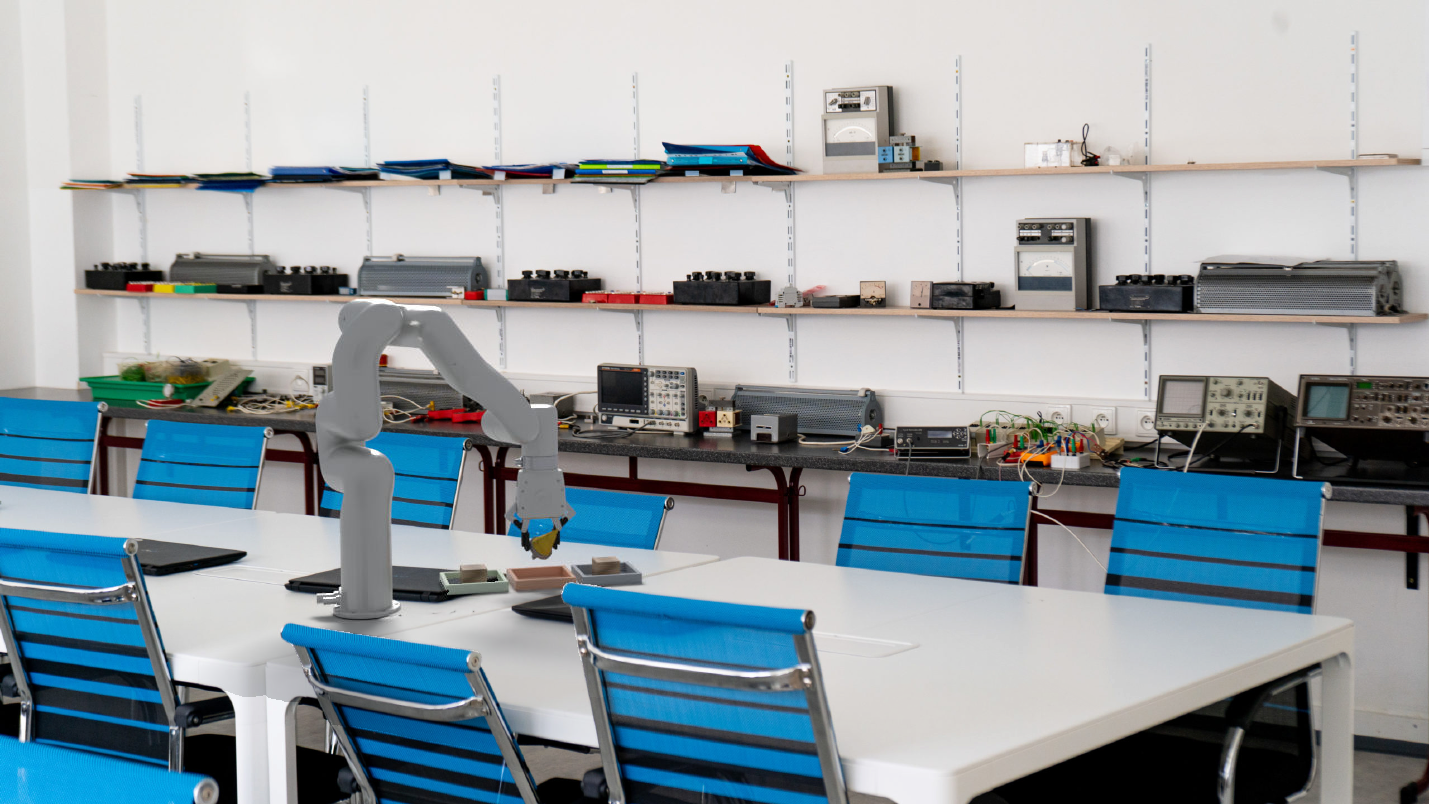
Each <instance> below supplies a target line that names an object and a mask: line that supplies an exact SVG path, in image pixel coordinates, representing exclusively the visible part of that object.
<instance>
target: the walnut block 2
mask: <svg viewBox="0 0 1429 804" xmlns="http://www.w3.org/2000/svg"><path fill="white" fill-rule="evenodd" d="M620 562H621V561H620V559H619V558H617V557H616V556H602V557H601V556H600V557H592V558H591V564H592V576H595V575H612V574H620Z"/></svg>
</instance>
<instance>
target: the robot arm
mask: <svg viewBox="0 0 1429 804" xmlns="http://www.w3.org/2000/svg"><path fill="white" fill-rule="evenodd" d="M337 318H338V320H337V323H338V324H337V325H338V328H339V330H340V332H341V334H340V336H339V338H338V340H337V342H336V345H335V347H334V349H333V353H332V358H331V374H332V375H331V376H332V391H329V392H328V393H326V394H325V395H324V396H322V397H321V399H320V401H319V403H318V406H317V407H316V412H315V431H316V432H315V433H316V443H317V451H318V459H319V460H318V461H319V468H320V472H321V475H322V478H323V480H324V482H325V484H326V485H328V486H329V487H330V488H331V489H332V490H335V491H337V492H340V493H342V494H343V497H342V502H341V507H340V513H339V543H340V544H339V546H340V547H339V548H340V551H339V552H340V586H339V587H338V590H334V591H333V593H326V592H322V593H316V604H317V605H318V604H320V605H321V604H322V605H323V606H330V605H334V606H333V608H332V610H333V611H332V614H333V615H334V616H336V617H338V618H342V619H349V620H370V619H378V618H379V619H380V618H385V617H388V616H391V614H394V613H396V612H398V611H400V610H401V609H402V604H401V603H400V602H399V601H398V600H395V599H393V558H392V557H393V555H392V554H393V553H392V552H393V550H392V549H393V545H392V543H393V542H392V503H393V494H394V488H395V479H396V477H395V476H396V475H395V470H394V466H393V464H392V461H390V459H389V457H387V456H386V454H384V453H382V452H380V451H379V450H376V449H373V448H369V447H366V442H368V441H371V440H373V439H374V438H376V437H377V436H378V435H379V434H380V432H381V430H382V427H383V425H384V424H383V422H384V420H383V419H384V418H383V417H384V416H383V407H382V398H381V397H382V396H381V387H380V375H379V374H380V373H379V369H380V368H379V367H380V359H381V357H382V354H383V353H384V350H385V349H386V348H387V347H388V346H389V347H397V348H398V347H401V348H414V349H419V350H420V351H421V352H422V353H423V354H424V356H425V357H426V358H427V359H428V360H429V362H430V363H431V365H432V366H433V367H434V368H435V370H437V372H439V374H440V375H441V377H442V379H444V380H445V382H446V383H447V384H448V385H449V386H450V387H451V388H452V389H454V390H455V391H456V392H458V393H460V394H461V395H463V396H465V397H467V398H470V399H471V400H472V401H475V402H477V403H478V404H479V405H481V406H482V407H483V408H484V409H486V411H485V412H484V413H483V415H482V416H481V420H480V424H481V425H480V426H481V429H482V431H483V433H484V434H485V436H487V437H488V438H490V439H492V440H493V441H496V442H501V443H509V444H513V445H517V446H518V445H521V454H520V456H519V458H515V459H514V466H519V467H521V469H518V473H517V478H516V486H515V500H514V502H513V503H512V504H511V506H510V507H509V508H508V510H507V511H506V512H505V513H504V518H505V519H507V521H509V522H510V523H511V524H513V525H514V526H515V527H516V528H517V529H518V530H520V543H521V544H520V545H521V548H523V549H524V551H525V552H529V551H530V540H531V537H530V536H531V535H530V532H529V529H528V528H529V525H530V521H531V520H541V519H543V520H545V519H551V522H552V525H553V526H552V528H551V531H554V530H556V529H559V530H558V532H557V534H556V538H555V541H554V544H553V547H552V550H553V549H554V550H555V551H557V550H558V545H559V546H560V545H561V530H562V529H563V527H564V526H565V525H566V524H567V523H568V522H570V520H571V519H572V518H573V517H574V516H576V514H577V512H576V511H575V509H574V508H573V507H572V506H571V505H570V504H569V502H568V501H567V499H566V488H565V487H566V486H565V479H564V473H563V470H562V469H560V468H559V455H558V454H559V449H558V448H559V442H558V441H559V438H558V436H559V431H558V430H559V429H558V426H559V425H558V423H559V422H558V421H559V420H558V417H559V416H558V415H559V414H558V409H557V408H556V406H555V405H553V404H549V403H548V404H547V403H533V404H532V403H531V404H530V403H529V401H528V400H527V399H526V397H525V396H524V395H523V394H522V392H521V391H520V390H519V389H518V388H517V387H516V386H515V385H514V384H513V383H512V382H511V381H510V380H508V379H507V378H506V377H505V376H504V375H503V374H501V372H499V371H498V370H497V369H495V367H493V366H492V365H491V364H489V363H488V362H487V361H486V360H485V359H484V358H483V356H481V354H480V353H479V351H478V350H477V349H476V348H475V346H474V345H473V344H472V343H471V341H470V340H469V339H468V337H467V336H466V335H465V333H463V332H462V330H461V329H460V327H459V326H458V325H457V324H456V322H455V321H454V320H453V318H452V317H451V316H450V315H449V313H448V312H446V311H445V310H444V309H442V308H441V307H438V306H432V305H409V304H396V303H394V302H393V301H392V300H391V301H390V300H388V299H384V298H383V299H382V298H357V299H353V300H350V301H348V302H347V303H345V304H344V305H343V307H342V308H341V309H340V311H339V313H338V317H337ZM514 514H516V515H517V516H518V517H519V518H521V520H519V519H518V518H516V517H515V516H514ZM551 531H550V532H551ZM530 552H531V551H530Z"/></svg>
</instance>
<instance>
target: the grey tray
mask: <svg viewBox="0 0 1429 804" xmlns="http://www.w3.org/2000/svg"><path fill="white" fill-rule="evenodd" d="M570 571H571V572H572V574H573V575H574V576H575V577H576V582H578V583H579V584H580V583H582V584H591V585H597V586H608V585H607V584H612V585H624V584H641V583H643V573H642V572H641V571H640V570H638V569H637V567H635V566H634V565H632V564H631V563H630V562H629V561H620V574H612V575H595V576H592V563H580V564H579V563H578V564H571V565H570Z"/></svg>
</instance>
